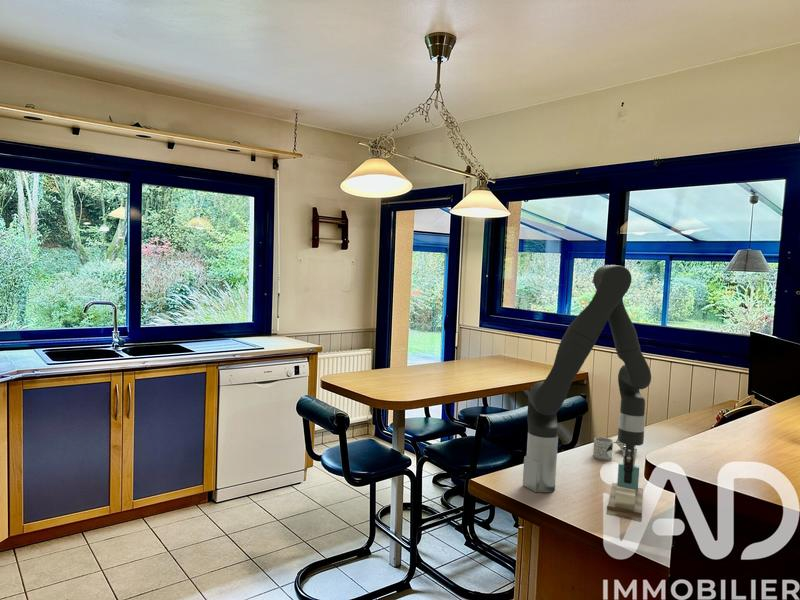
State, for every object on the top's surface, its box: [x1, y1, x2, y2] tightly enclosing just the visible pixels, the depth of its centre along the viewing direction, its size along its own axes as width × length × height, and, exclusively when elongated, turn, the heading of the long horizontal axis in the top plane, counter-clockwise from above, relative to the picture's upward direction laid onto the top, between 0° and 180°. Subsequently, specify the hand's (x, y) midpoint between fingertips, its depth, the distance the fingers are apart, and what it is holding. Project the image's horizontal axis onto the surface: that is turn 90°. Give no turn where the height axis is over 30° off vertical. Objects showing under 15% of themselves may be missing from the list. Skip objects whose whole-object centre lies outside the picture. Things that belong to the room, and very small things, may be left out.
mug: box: [592, 436, 614, 461], centre depth 198 cm, size 10×7×7 cm
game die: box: [613, 438, 637, 451], centre depth 204 cm, size 9×8×10 cm
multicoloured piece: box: [605, 462, 644, 523], centre depth 154 cm, size 26×9×8 cm, turn 154°
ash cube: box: [615, 486, 636, 511], centre depth 149 cm, size 5×5×5 cm
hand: (627, 481), depth 165 cm, fingers closed on multicoloured piece, 2 cm apart
